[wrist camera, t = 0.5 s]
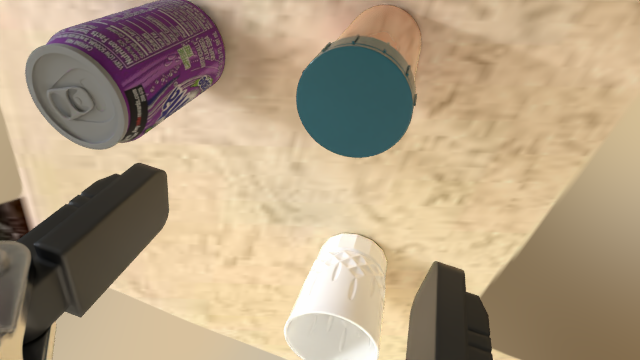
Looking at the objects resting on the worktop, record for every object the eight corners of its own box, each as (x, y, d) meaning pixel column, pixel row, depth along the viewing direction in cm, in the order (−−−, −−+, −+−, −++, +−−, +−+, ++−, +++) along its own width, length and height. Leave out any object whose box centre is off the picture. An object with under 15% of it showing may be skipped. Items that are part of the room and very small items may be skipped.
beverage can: (174, 94, 34) (69, 163, 25) (133, 10, 31) (-8, 53, 22) (243, 77, 32) (154, 147, 22) (205, -17, 28) (81, 19, 19)
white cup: (367, 217, 36) (344, 303, 28) (407, 275, 39) (397, 368, 31) (301, 240, 40) (265, 321, 32) (342, 292, 43) (318, 378, 35)
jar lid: (317, 21, 19) (306, 31, 17) (432, 53, 18) (430, 66, 17) (299, 123, 22) (288, 139, 21) (396, 153, 22) (392, 171, 20)
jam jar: (356, -5, 26) (312, 34, 18) (432, 15, 26) (424, 65, 17) (339, 69, 29) (295, 132, 21) (407, 88, 29) (390, 162, 20)
